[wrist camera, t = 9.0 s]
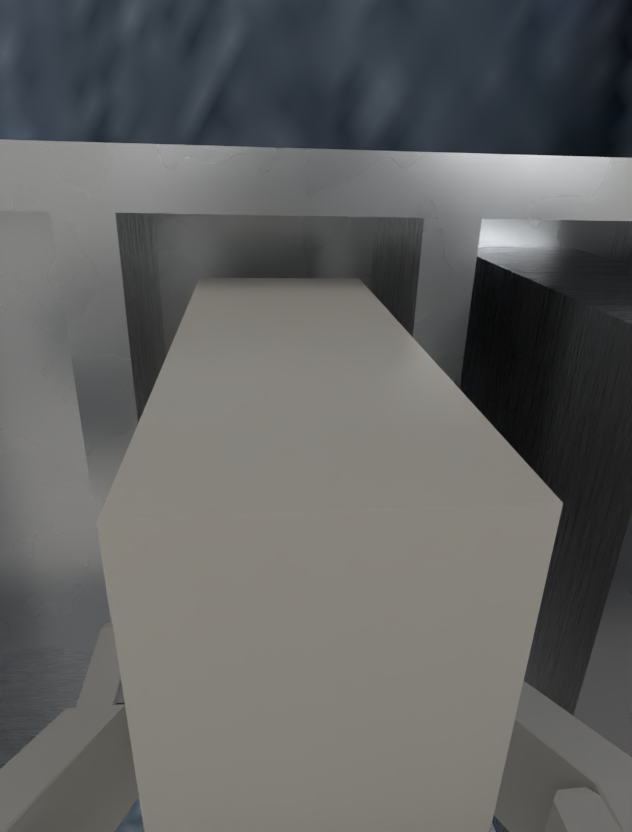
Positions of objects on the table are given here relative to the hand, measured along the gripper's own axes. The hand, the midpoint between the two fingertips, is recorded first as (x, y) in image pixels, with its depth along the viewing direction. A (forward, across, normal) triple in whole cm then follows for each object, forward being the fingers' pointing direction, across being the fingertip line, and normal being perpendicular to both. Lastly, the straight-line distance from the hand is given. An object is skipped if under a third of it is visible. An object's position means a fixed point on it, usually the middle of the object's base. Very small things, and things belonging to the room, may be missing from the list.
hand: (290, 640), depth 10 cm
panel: (+4, 0, 0) cm, 4 cm away
